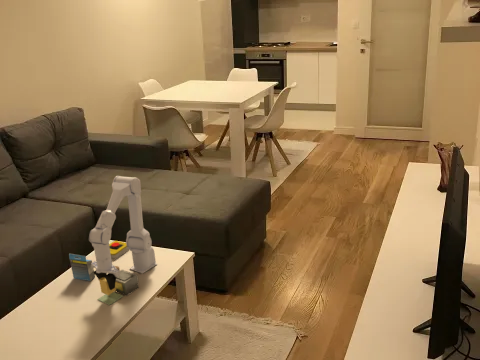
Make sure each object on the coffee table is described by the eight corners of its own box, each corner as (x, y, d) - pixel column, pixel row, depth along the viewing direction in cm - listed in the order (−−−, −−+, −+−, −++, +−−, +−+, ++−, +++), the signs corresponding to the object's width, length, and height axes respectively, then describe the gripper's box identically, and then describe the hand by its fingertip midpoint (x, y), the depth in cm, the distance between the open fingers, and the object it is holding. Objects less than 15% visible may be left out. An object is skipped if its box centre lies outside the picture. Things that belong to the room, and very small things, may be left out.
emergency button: (131, 239, 247) (111, 254, 234) (133, 248, 248) (112, 262, 236) (116, 236, 251) (95, 250, 239) (117, 244, 252) (96, 259, 240)
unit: (123, 281, 219) (121, 268, 217) (139, 287, 214) (137, 274, 212) (110, 290, 214) (108, 276, 211) (125, 296, 209) (123, 282, 206)
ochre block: (109, 287, 209) (106, 274, 207) (116, 290, 207) (113, 277, 205) (101, 292, 206) (99, 279, 204) (108, 295, 204) (106, 282, 202)
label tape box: (95, 276, 224) (91, 251, 220) (90, 281, 221) (85, 256, 216) (78, 274, 227) (73, 249, 223) (72, 278, 224) (67, 253, 219)
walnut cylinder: (116, 277, 223) (114, 265, 221) (123, 279, 221) (121, 267, 219) (109, 281, 220) (107, 269, 218) (116, 284, 218) (114, 271, 215)
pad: (111, 291, 212) (110, 290, 212) (122, 296, 209) (122, 295, 208) (97, 300, 207) (97, 299, 207) (109, 305, 203) (109, 304, 203)
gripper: (82, 256, 202) (88, 286, 207) (108, 266, 194) (113, 297, 199) (97, 249, 208) (102, 278, 212) (122, 258, 199) (126, 288, 204)
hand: (108, 287), depth 206 cm, fingers closed on ochre block, 4 cm apart
